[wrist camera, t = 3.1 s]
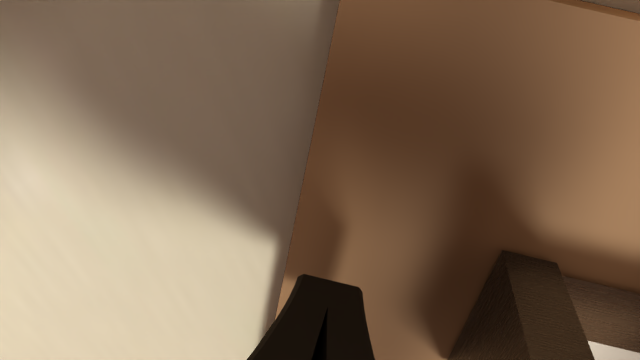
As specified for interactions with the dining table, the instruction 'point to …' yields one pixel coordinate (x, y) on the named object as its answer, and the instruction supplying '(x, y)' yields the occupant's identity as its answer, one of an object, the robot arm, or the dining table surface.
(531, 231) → the walnut board
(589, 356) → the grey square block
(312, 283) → the robot arm
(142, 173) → the dining table surface
